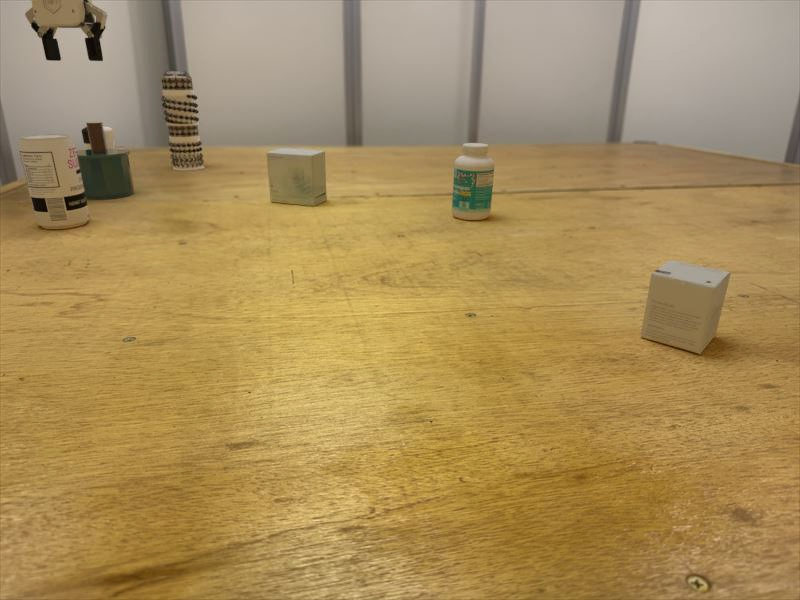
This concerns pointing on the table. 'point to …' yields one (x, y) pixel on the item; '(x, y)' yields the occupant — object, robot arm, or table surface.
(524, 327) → the table surface
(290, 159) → the cosmetics box
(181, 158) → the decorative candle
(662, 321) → the white cardboard box
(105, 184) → the storage jar
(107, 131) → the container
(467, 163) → the pill bottle
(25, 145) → the supplement can
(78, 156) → the jar lid
